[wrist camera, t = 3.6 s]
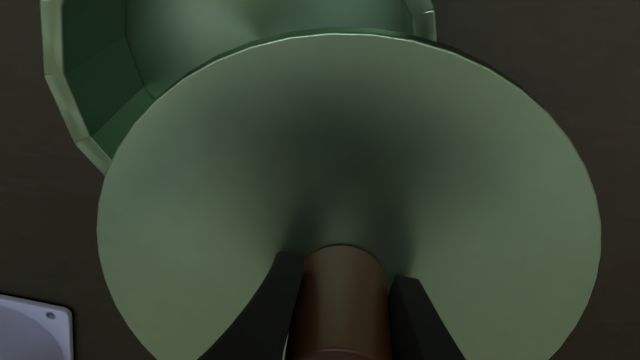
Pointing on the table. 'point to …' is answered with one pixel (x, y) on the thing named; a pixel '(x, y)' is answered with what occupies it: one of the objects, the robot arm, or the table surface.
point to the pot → (174, 49)
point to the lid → (349, 200)
